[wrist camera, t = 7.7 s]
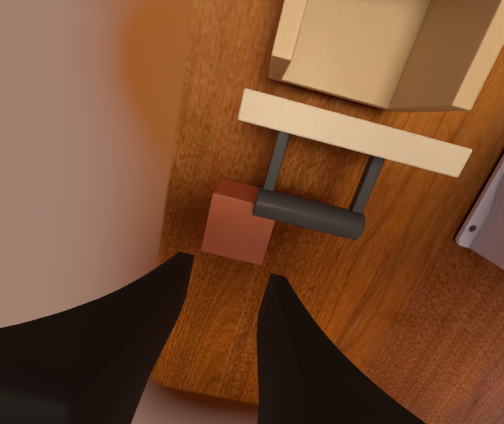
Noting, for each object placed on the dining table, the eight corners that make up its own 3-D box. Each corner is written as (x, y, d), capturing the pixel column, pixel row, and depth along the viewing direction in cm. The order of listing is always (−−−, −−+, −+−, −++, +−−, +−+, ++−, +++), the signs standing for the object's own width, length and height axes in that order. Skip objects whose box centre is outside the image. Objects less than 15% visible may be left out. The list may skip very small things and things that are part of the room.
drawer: (358, 220, 19) (407, 274, 13) (230, 189, 18) (213, 227, 12) (502, -121, 13) (745, -360, 6) (314, -183, 12) (372, -508, 6)
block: (261, 238, 21) (261, 265, 17) (211, 226, 20) (200, 251, 17) (275, 190, 19) (278, 209, 16) (222, 177, 19) (212, 192, 15)
